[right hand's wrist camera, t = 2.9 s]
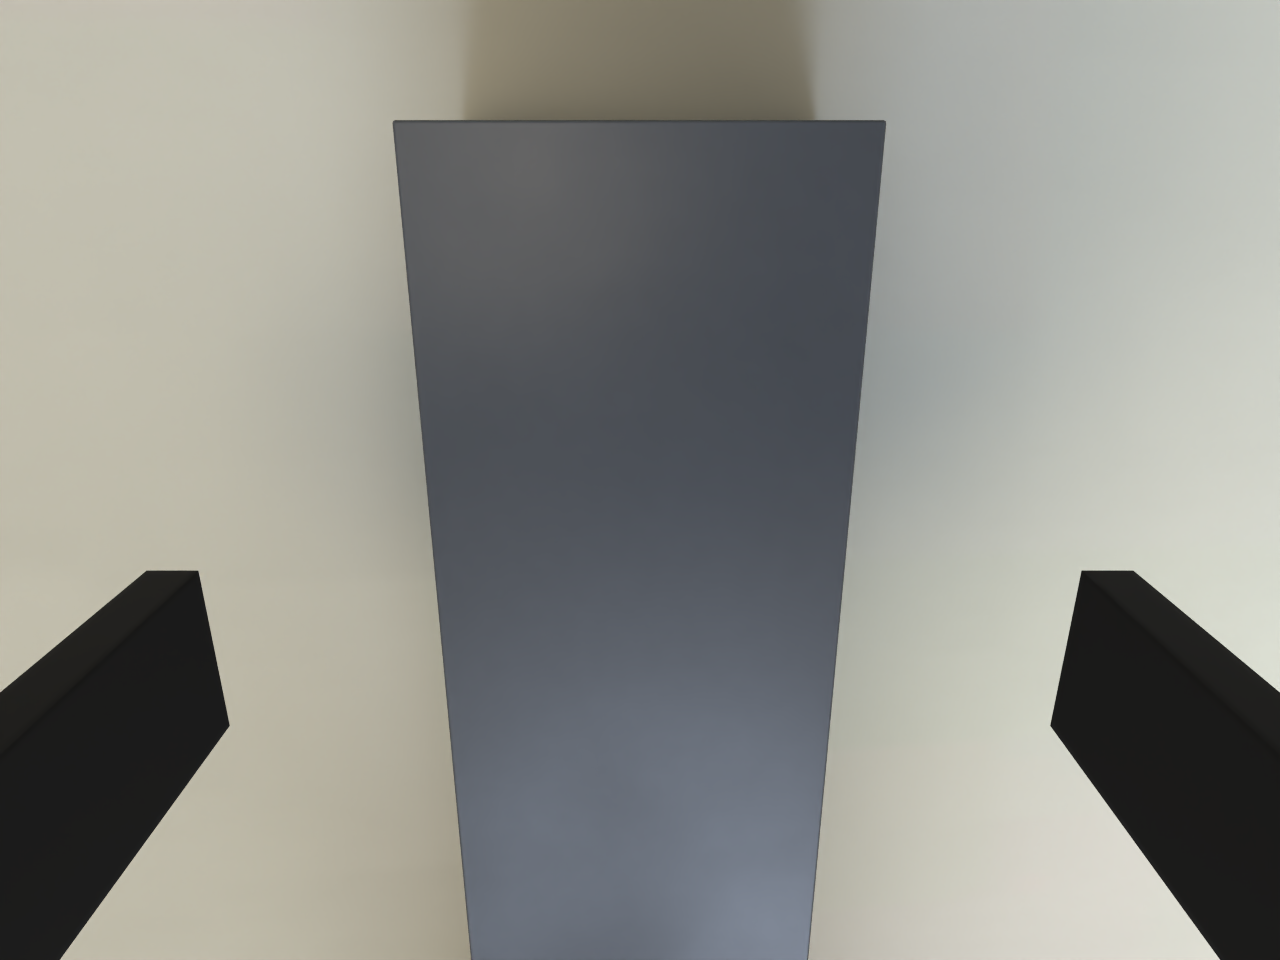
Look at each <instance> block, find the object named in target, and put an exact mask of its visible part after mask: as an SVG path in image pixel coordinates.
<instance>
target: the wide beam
mask: <svg viewBox="0 0 1280 960" xmlns="http://www.w3.org/2000/svg"><path fill="white" fill-rule="evenodd" d="M885 129H886V121H884V120H395V121H393V132H394V143H395V153H396V164H397V175H398V185H399V196H400V207H401V217H402V228H403V238H404V249H405V260H406V270H407V281H408V292H409V302H410V313H411V324H412V334H413V345H414V356H415V366H416V377H417V388H418V398H419V409H420V420H421V430H422V441H423V451H424V462H425V473H426V483H427V494H428V505H429V515H430V526H431V537H432V547H433V558H434V569H435V579H436V590H437V601H438V611H439V622H440V633H441V643H442V654H443V664H444V675H445V686H446V696H447V707H448V718H449V728H450V739H451V750H452V760H453V771H454V782H455V792H456V803H457V814H458V824H459V835H460V846H461V856H462V867H463V877H464V888H465V899H466V909H467V920H468V931H469V941H470V952H471V960H808V953H809V943H810V932H811V921H812V911H813V900H814V889H815V879H816V868H817V857H818V846H819V836H820V825H821V814H822V804H823V793H824V782H825V771H826V761H827V750H828V739H829V729H830V718H831V707H832V697H833V686H834V675H835V664H836V654H837V643H838V632H839V622H840V611H841V600H842V590H843V579H844V568H845V557H846V547H847V536H848V525H849V515H850V504H851V493H852V482H853V472H854V461H855V450H856V440H857V429H858V418H859V408H860V397H861V386H862V375H863V365H864V354H865V343H866V333H867V322H868V311H869V300H870V290H871V279H872V268H873V258H874V247H875V236H876V226H877V215H878V204H879V193H880V183H881V172H882V161H883V151H884V140H885Z"/></svg>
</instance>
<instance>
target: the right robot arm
mask: <svg viewBox="0 0 1280 960" xmlns="http://www.w3.org/2000/svg"><path fill="white" fill-rule="evenodd" d="M229 726H230V725H229V720H228V715H227V710H226V705H225V700H224V696H223V691H222V686H221V681H220V676H219V671H218V666H217V661H216V656H215V651H214V646H213V641H212V636H211V631H210V626H209V621H208V616H207V611H206V606H205V602H204V597H203V592H202V587H201V582H200V577H199V572H198V571H146V572H145V573H143V574H142V575H141V576H140V577H139V578H137V579H136V580H135V581H134V582H133V583H131V584H130V585H129V586H128V587H127V588H125V589H124V590H123V591H122V592H121V593H119V594H118V595H117V596H116V597H115V598H113V599H112V600H111V601H110V602H109V603H107V604H106V605H105V606H104V607H102V608H101V609H100V610H99V611H98V612H96V613H95V614H94V615H93V616H92V617H90V618H89V619H88V620H87V621H86V622H84V623H83V624H82V625H81V626H80V627H78V628H77V629H76V630H75V631H74V632H72V633H71V634H70V635H69V636H68V637H66V638H65V639H64V640H63V641H62V642H60V643H59V644H58V645H57V646H56V647H54V648H53V649H52V650H51V651H50V652H48V653H47V654H46V655H45V656H44V657H42V658H41V659H40V660H39V661H38V662H36V663H35V664H34V665H33V666H32V667H30V668H29V669H28V670H27V671H26V672H24V673H23V674H22V675H21V676H20V677H18V678H17V679H16V680H15V681H14V682H12V683H11V684H10V685H9V686H8V687H6V688H5V689H4V690H3V691H2V692H0V960H60V959H61V957H62V956H63V955H64V953H65V952H66V950H67V949H68V948H69V946H70V945H71V944H72V942H73V941H74V939H75V938H76V937H77V935H78V934H79V933H80V931H81V930H82V928H83V927H84V926H85V924H86V923H87V921H88V920H89V919H90V917H91V916H92V915H93V913H94V912H95V910H96V909H97V908H98V906H99V905H100V904H101V902H102V901H103V899H104V898H105V897H106V895H107V894H108V893H109V891H110V890H111V888H112V887H113V886H114V884H115V883H116V882H117V880H118V879H119V877H120V876H121V875H122V873H123V872H124V871H125V869H126V868H127V866H128V865H129V864H130V862H131V861H132V859H133V858H134V857H135V855H136V854H137V853H138V851H139V850H140V848H141V847H142V846H143V844H144V843H145V842H146V840H147V839H148V837H149V836H150V835H151V833H152V832H153V831H154V829H155V828H156V826H157V825H158V824H159V822H160V821H161V820H162V818H163V817H164V815H165V814H166V813H167V811H168V810H169V809H170V807H171V806H172V804H173V803H174V802H175V800H176V799H177V798H178V796H179V795H180V793H181V792H182V791H183V789H184V788H185V786H186V785H187V784H188V782H189V781H190V780H191V778H192V777H193V775H194V774H195V773H196V771H197V770H198V769H199V767H200V766H201V764H202V763H203V762H204V760H205V759H206V758H207V756H208V755H209V753H210V752H211V751H212V749H213V748H214V747H215V745H216V744H217V742H218V741H219V740H220V738H221V737H222V736H223V734H224V733H225V731H226V730H227V729H228V727H229ZM1050 726H1051V727H1052V729H1053V730H1054V731H1055V733H1056V734H1057V736H1058V737H1059V738H1060V740H1061V741H1062V742H1063V744H1064V745H1065V747H1066V748H1067V749H1068V751H1069V752H1070V753H1071V755H1072V756H1073V758H1074V759H1075V760H1076V762H1077V763H1078V764H1079V766H1080V767H1081V769H1082V770H1083V771H1084V773H1085V774H1086V775H1087V777H1088V778H1089V780H1090V781H1091V782H1092V784H1093V785H1094V786H1095V788H1096V789H1097V791H1098V792H1099V793H1100V795H1101V796H1102V798H1103V799H1104V800H1105V802H1106V803H1107V804H1108V806H1109V807H1110V809H1111V810H1112V811H1113V813H1114V814H1115V815H1116V817H1117V818H1118V820H1119V821H1120V822H1121V824H1122V825H1123V826H1124V828H1125V829H1126V831H1127V832H1128V833H1129V835H1130V836H1131V837H1132V839H1133V840H1134V842H1135V843H1136V844H1137V846H1138V847H1139V848H1140V850H1141V851H1142V853H1143V854H1144V855H1145V857H1146V858H1147V859H1148V861H1149V862H1150V864H1151V865H1152V866H1153V868H1154V869H1155V871H1156V872H1157V873H1158V875H1159V876H1160V877H1161V879H1162V880H1163V882H1164V883H1165V884H1166V886H1167V887H1168V888H1169V890H1170V891H1171V893H1172V894H1173V895H1174V897H1175V898H1176V899H1177V901H1178V902H1179V904H1180V905H1181V906H1182V908H1183V909H1184V910H1185V912H1186V913H1187V915H1188V916H1189V917H1190V919H1191V920H1192V921H1193V923H1194V924H1195V926H1196V927H1197V928H1198V930H1199V931H1200V933H1201V934H1202V935H1203V937H1204V938H1205V939H1206V941H1207V942H1208V944H1209V945H1210V946H1211V948H1212V949H1213V950H1214V952H1215V953H1216V955H1217V956H1218V957H1219V959H1220V960H1280V692H1278V691H1277V690H1276V689H1275V688H1274V687H1272V686H1271V685H1270V684H1269V683H1268V682H1266V681H1265V680H1264V679H1263V678H1262V677H1260V676H1259V675H1258V674H1257V673H1256V672H1254V671H1253V670H1252V669H1251V668H1250V667H1248V666H1247V665H1246V664H1245V663H1244V662H1242V661H1241V660H1240V659H1239V658H1238V657H1236V656H1235V655H1234V654H1233V653H1232V652H1230V651H1229V650H1228V649H1227V648H1226V647H1224V646H1223V645H1222V644H1221V643H1220V642H1218V641H1217V640H1216V639H1215V638H1214V637H1212V636H1211V635H1210V634H1209V633H1208V632H1206V631H1205V630H1204V629H1203V628H1202V627H1200V626H1199V625H1198V624H1197V623H1196V622H1194V621H1193V620H1192V619H1191V618H1190V617H1188V616H1187V615H1186V614H1185V613H1184V612H1182V611H1181V610H1180V609H1179V608H1178V607H1176V606H1175V605H1174V604H1173V603H1171V602H1170V601H1169V600H1168V599H1167V598H1165V597H1164V596H1163V595H1162V594H1161V593H1159V592H1158V591H1157V590H1156V589H1155V588H1153V587H1152V586H1151V585H1150V584H1149V583H1147V582H1146V581H1145V580H1144V579H1143V578H1141V577H1140V576H1139V575H1138V574H1137V573H1135V572H1134V571H1082V572H1081V577H1080V582H1079V587H1078V592H1077V597H1076V602H1075V606H1074V611H1073V616H1072V621H1071V626H1070V631H1069V636H1068V641H1067V646H1066V651H1065V656H1064V661H1063V666H1062V671H1061V676H1060V681H1059V686H1058V691H1057V695H1056V700H1055V705H1054V710H1053V715H1052V720H1051V725H1050Z"/></svg>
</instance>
